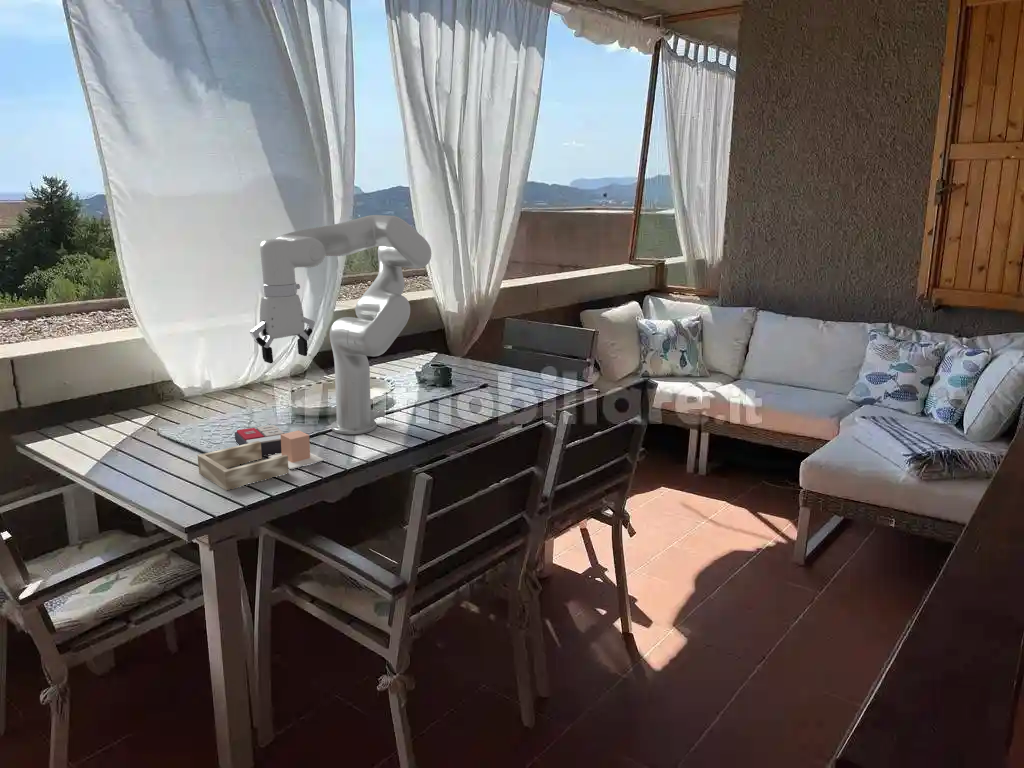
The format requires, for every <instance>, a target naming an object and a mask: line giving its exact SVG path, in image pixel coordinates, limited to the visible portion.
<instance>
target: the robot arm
mask: <svg viewBox="0 0 1024 768" xmlns="http://www.w3.org/2000/svg"><path fill="white" fill-rule="evenodd" d="M376 247H378V248H377V259H378V273H377V276H376V277H375V279H374V280H373V282H372V283H371V285H369V287H368V288H367V289H366V291H365V292H364V293H363V294H362V295H361V297H360V298H359V300H358V301H357V303H356V305H355V315H356V317H354V316H353V317H352V316H345V317H340V318H338V319H336V320H335V321H334V322H333V323H332V324H331V327H330V328H329V341H330V345H331V350H332V354H333V362H334V381H335V383H334V385H335V386H334V387H335V388H334V389H335V410H336V421H335V420H334V421H333V422H332V423H331V424H330V426H331V427H330V428H332V429H331V430H332V431H333V432H334V433H337V434H342V435H361V434H362V435H363V434H367V433H370V432H372V431H374V430H376V428H377V424H378V423H377V421H376V419H377V418H382V417H385V415H386V411H385V410H384V409H381V410H376V409H371V408H372V406H371V371H370V369H371V368H370V362H369V360H368V357H379V356H381V355H383V354H384V353H385V352H387V350H388V349H390V347H391V346H392V345H393V343H394V341H395V340H396V339H397V338H398V337H399V335H400V334H401V332H402V331H403V330H404V328H405V327H406V325H407V324H408V321H409V319H410V315H411V305H410V302H409V300H408V299H407V298H406V297H405V296H404V295H403V292H404V290H405V286H406V285H405V284H406V283H405V278H404V274H403V269H402V268H410V269H422V268H425V267H426V266H428V264H430V261H431V259H432V249H431V246H430V243H429V242H428V241H427V239H426V238H424V236H423V235H421V234H420V232H418V231H417V230H416V229H415V228H414V227H412V225H410V224H409V223H408V222H407V221H405V220H404V219H402V218H401V217H399V216H396V215H385V214H384V215H383V214H382V215H381V214H371V215H367V216H366V215H365V216H362V217H358V218H355V219H351V220H347V221H343V222H340V223H339V222H338V223H333V224H327V225H322V226H317V227H311V228H305V229H300V230H296V231H292V232H288V233H284V234H281V235H279V236H278V237H277V238H271V239H265V240H262V241H261V243H260V244H259V251H260V262H261V263H260V264H261V273H262V282H263V284H262V285H263V293H264V294H263V295H264V296H263V297H261V299H260V305H259V307H260V308H259V324H258V325H256V326H254V328H252V329H251V330H250V331H249V334H250V335H251V337H252V338H253V341H254V342H256V343H257V344H258V345H259V346H260V347H261V353H262V359H263V361H264V362H265V363H268V364H273V363H274V355H273V348H272V347H271V344H272V343H273V341H274V340H276V339H282V338H288V337H292V336H296V337H298V338H297V341H296V342H297V351H298V353H297V354H298V355H300V356H302V357H303V356H304V357H307V356H308V351H309V350H308V341H309V339H310V336H311V335H312V333H313V329H314V326H315V324H316V323H315V321H314V320H312V319H310V318H307V317H304V311H303V306H302V302H301V297H300V295H299V294H297V291H298V290H300V289H301V285H300V284H299V283H297V282H296V273H295V268H305V269H306V268H307V269H308V268H316V267H318V266H319V265H321V264H322V263H323V261H325V258H326V257H344V256H350V255H353V254H356V253H359V252H362V251H366V250H369V249H372V248H376ZM305 325H306V327H305ZM260 335H261V336H262V338H261V336H260Z"/></svg>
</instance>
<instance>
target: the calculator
mask: <svg viewBox="0 0 1024 768" xmlns="http://www.w3.org/2000/svg"><path fill="white" fill-rule="evenodd" d="M281 434H285V432H284V431H283V430H282V429H280V428H279V426H277V425H275V424H270V425H263V426H257V427H256V428H255V427H251V428H241V429H236V431H234V441H235V440H236V442H237V443H238V444H239V445H243V444H248V443H252V442H256V441H259V442H261V452H262V457H264V456H263V455H267V456H269V455H268V454H273V455H275V453H282V451H281ZM236 442H235V443H236ZM237 443H236V444H237ZM238 444H237V445H238Z"/></svg>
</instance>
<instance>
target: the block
mask: <svg viewBox="0 0 1024 768" xmlns="http://www.w3.org/2000/svg"><path fill="white" fill-rule="evenodd" d="M284 433H285V432H284ZM310 445H311V444H310V435H309V434H308V433H305V432H303V431H301V430H294V431H289V432H286V433H285V434H281V451H282V455H287V456H288V461H290V462H292V463H293V462H297V461H301V460H304V459H308V458H310V453H311V446H310Z"/></svg>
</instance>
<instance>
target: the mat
mask: <svg viewBox="0 0 1024 768" xmlns="http://www.w3.org/2000/svg"><path fill="white" fill-rule="evenodd" d="M267 456H268V458H267V459H270V458H274V457H278V456H282V453H279V454H273V455H267ZM323 460H324V461H325V459H324V458H322V457H321V456H318V455H316V454H314V453H312V452H310V458H308V459H304V460H301V461H297V462H293V463H292V462H290V461H288V468H289V469H294V468H297V467H300V466H303V465H307V464H311V463H315V462H319V461H323ZM289 469H288V470H289ZM294 470H295V469H294Z"/></svg>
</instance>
